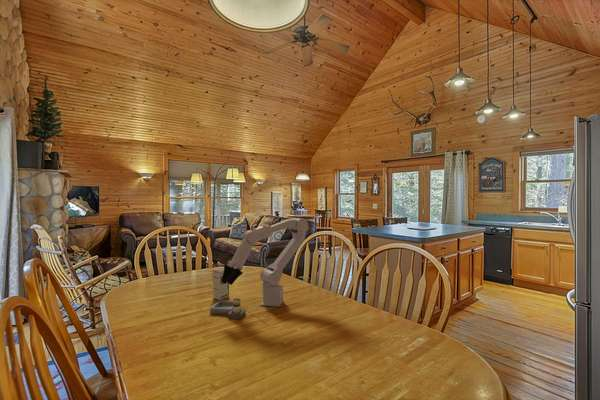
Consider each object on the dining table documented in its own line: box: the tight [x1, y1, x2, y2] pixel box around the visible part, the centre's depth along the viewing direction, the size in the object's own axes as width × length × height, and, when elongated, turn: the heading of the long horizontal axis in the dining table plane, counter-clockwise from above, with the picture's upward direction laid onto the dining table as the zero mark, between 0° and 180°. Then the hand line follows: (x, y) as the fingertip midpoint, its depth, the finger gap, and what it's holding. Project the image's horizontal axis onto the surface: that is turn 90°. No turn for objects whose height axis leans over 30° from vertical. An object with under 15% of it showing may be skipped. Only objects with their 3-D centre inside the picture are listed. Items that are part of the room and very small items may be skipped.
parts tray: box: [209, 299, 233, 316], centre depth 137 cm, size 10×10×2 cm
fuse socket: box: [227, 308, 246, 320], centre depth 130 cm, size 6×6×2 cm
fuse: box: [232, 298, 241, 313], centre depth 130 cm, size 3×3×7 cm
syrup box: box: [212, 266, 230, 301], centre depth 154 cm, size 6×6×14 cm
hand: (226, 283), depth 135 cm, fingers open, 7 cm apart
